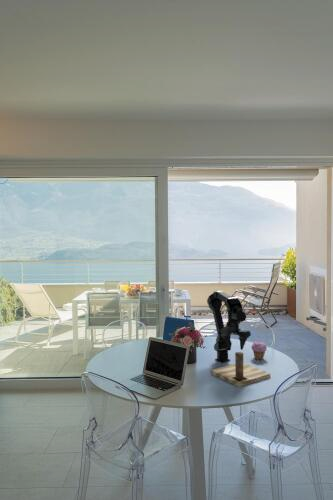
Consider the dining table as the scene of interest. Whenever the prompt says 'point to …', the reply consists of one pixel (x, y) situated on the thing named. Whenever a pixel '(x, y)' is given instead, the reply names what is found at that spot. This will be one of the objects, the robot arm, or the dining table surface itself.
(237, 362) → the stool leg
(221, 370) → the stool top
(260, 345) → the cupcake
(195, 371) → the dining table surface
